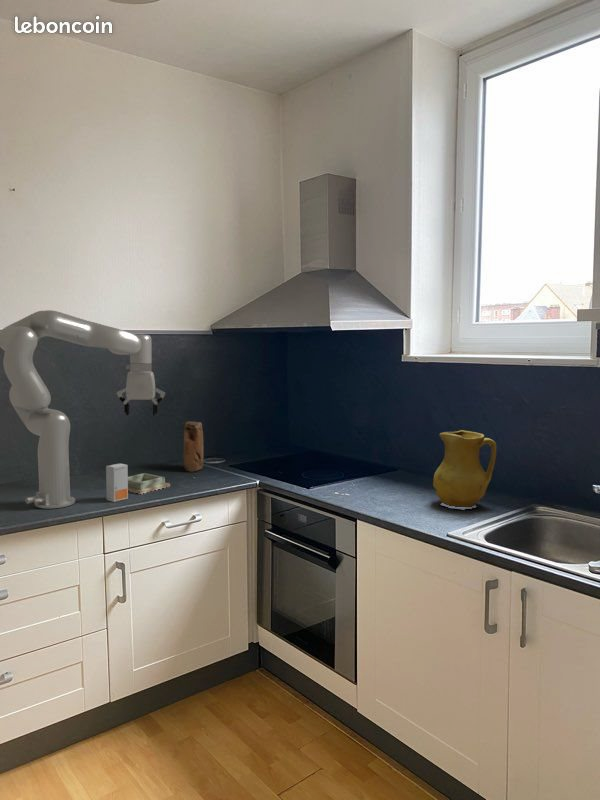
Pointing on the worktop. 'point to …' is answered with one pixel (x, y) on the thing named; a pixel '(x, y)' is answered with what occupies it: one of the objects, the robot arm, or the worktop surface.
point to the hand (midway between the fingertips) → (141, 415)
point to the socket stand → (146, 483)
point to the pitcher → (463, 469)
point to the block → (193, 446)
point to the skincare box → (117, 482)
